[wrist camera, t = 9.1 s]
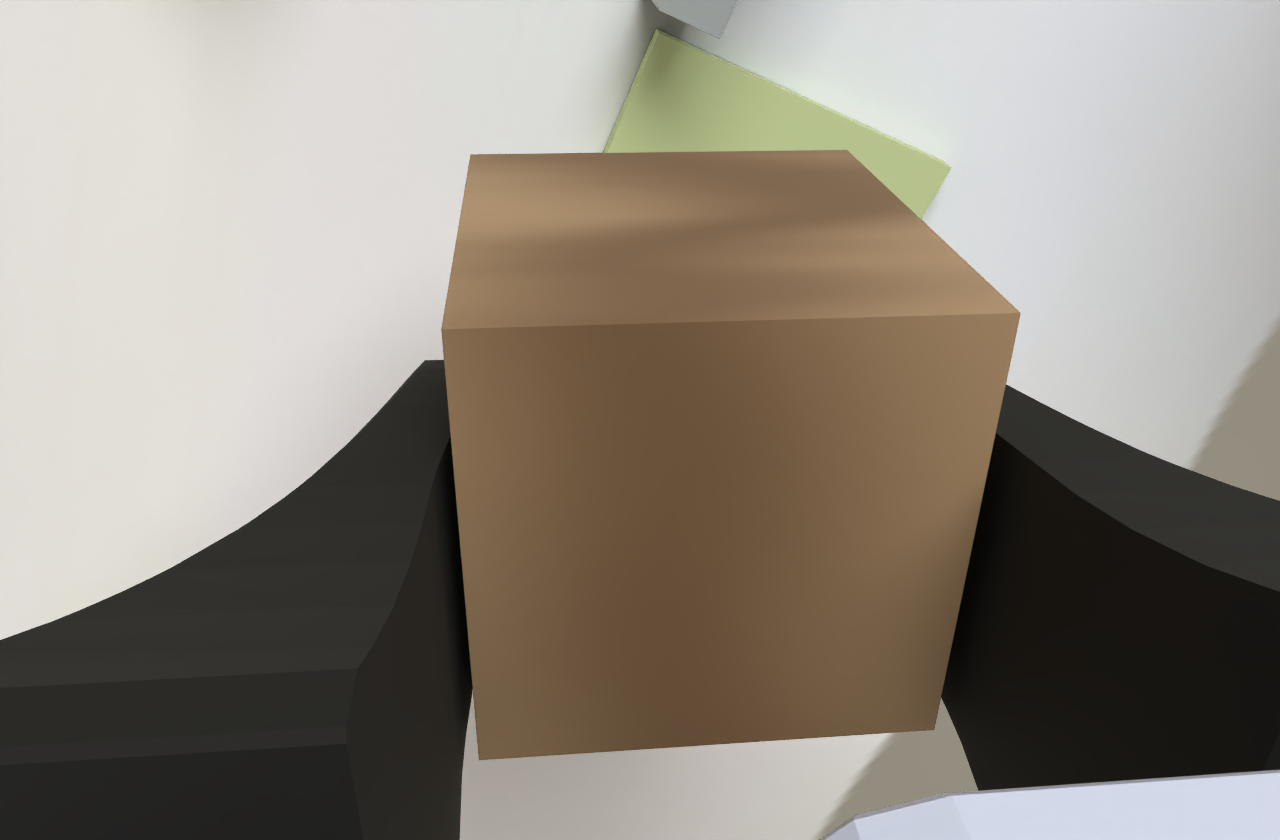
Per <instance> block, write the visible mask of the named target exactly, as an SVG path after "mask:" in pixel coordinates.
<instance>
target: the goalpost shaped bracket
mask: <svg viewBox="0 0 1280 840" xmlns="http://www.w3.org/2000/svg"><path fill="white" fill-rule="evenodd" d="M736 1H737V0H652V2H653V3H654V4H655V6H656V7H657V8H658V9H659V11H661V12H663V13H666V14H668V15H670V16H672V17H674V18H676V19H678V20H680V21H683V22H685V23H687V24H689V25H691V26H693V27H695V28H698V29H700V30H702V31H704V32H706V33H708V34H710V35H712V36H715V37H717V38H719V39H720V36H721V34H722V32H723V30H724V28H725V26H726V23H727V21H728V19H729V17H730V15H731V12H732V10H733V8H734V6H735V4H736Z"/></svg>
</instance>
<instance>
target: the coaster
mask: <svg viewBox="0 0 1280 840" xmlns="http://www.w3.org/2000/svg"><path fill="white" fill-rule="evenodd" d="M794 150H848V151H849V152H850V153H851V154H852V155H853V156H854V157H855V158H856V159H857V160H858V161H860V162H861V163H862V164H863V165H864V166H865V167H866V168H867V169H868V170H869V171H870V172H871V173H872V174H873V175H874V176H875V177H877V178H878V179H879V180H880V181H881V182H882V183H883V184H884V185H885V186H886V187H887V188H888V189H889V190H890V191H891V192H892V193H894V194H895V195H896V196H897V197H898V198H899V199H900V200H901V201H902V202H903V203H904V204H905V205H906V206H907V207H908V208H909V209H911V210H912V211H913V212H914V213H915V214H916V215H917V216H918V217H919V218H920V219H922V217H923V215H924V214H925V212H926V210H927V208H928V207H929V205H930V203H931V202H932V200H933V198H934V196H935V195H936V193H937V191H938V190H939V188H940V186H941V185H942V183H943V181H944V179H945V178H946V176H947V174H948V173H949V171H950V169H951V167H950V166H949V165H947V164H946V163H945V162H943V161H941V160H939V159H937V158H935V157H933V156H930V155H928V154H926V153H924V152H922V151H920V150H917V149H915V148H913V147H911V146H909V145H907V144H904V143H902V142H900V141H898V140H896V139H894V138H892V137H889V136H887V135H885V134H883V133H881V132H879V131H876V130H874V129H872V128H870V127H868V126H866V125H863V124H861V123H859V122H857V121H855V120H853V119H850V118H848V117H846V116H844V115H842V114H840V113H837V112H835V111H833V110H831V109H829V108H827V107H824V106H822V105H820V104H818V103H816V102H814V101H812V100H809V99H807V98H805V97H803V96H801V95H799V94H796V93H794V92H792V91H790V90H788V89H786V88H783V87H781V86H779V85H777V84H775V83H773V82H770V81H768V80H766V79H764V78H762V77H760V76H757V75H755V74H753V73H751V72H749V71H747V70H745V69H742V68H740V67H738V66H736V65H734V64H732V63H729V62H727V61H725V60H723V59H721V58H719V57H716V56H714V55H712V54H710V53H708V52H706V51H703V50H701V49H699V48H697V47H695V46H693V45H690V44H688V43H686V42H684V41H682V40H680V39H678V38H675V37H673V36H671V35H669V34H667V33H665V32H662V31H660V30H658V29H656V30H655V32H654V35H653V37H652V39H651V42H650V44H649V46H648V49H647V51H646V53H645V56H644V58H643V60H642V63H641V65H640V67H639V70H638V72H637V74H636V77H635V79H634V81H633V84H632V86H631V88H630V91H629V93H628V95H627V98H626V100H625V102H624V105H623V107H622V109H621V112H620V114H619V116H618V119H617V121H616V123H615V126H614V128H613V130H612V133H611V135H610V137H609V140H608V142H607V144H606V147H605V149H604V151H603V153H636V152H715V151H794Z"/></svg>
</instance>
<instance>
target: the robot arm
mask: <svg viewBox="0 0 1280 840" xmlns="http://www.w3.org/2000/svg"><path fill="white" fill-rule="evenodd" d="M472 690H473V685H472V674H471V662H470V651H469V640H468V628H467V617H466V605H465V594H464V582H463V571H462V559H461V548H460V536H459V525H458V514H457V502H456V491H455V479H454V468H453V456H452V445H451V433H450V422H449V410H448V399H447V387H446V376H445V365H444V360H425V361H424V362H423V363H422V364H421V365H420V366H419V367H418V368H417V369H416V370H415V371H414V372H413V373H412V375H411V376H410V377H409V378H408V379H407V380H406V381H405V382H404V384H403V385H402V386H401V387H400V388H399V389H398V391H397V392H396V393H395V394H394V395H393V396H392V397H391V398H390V400H389V401H388V402H387V403H386V404H385V405H384V406H383V407H382V408H381V410H380V411H379V412H378V413H377V414H376V415H375V416H374V417H373V418H372V419H371V420H370V421H369V422H368V423H367V424H366V425H365V426H364V427H363V428H362V429H361V431H360V432H359V433H358V434H357V435H356V436H355V437H354V438H353V439H352V440H351V441H350V442H349V443H348V444H347V445H346V446H345V447H344V448H342V449H341V450H340V451H339V452H338V453H337V454H336V455H335V456H334V457H332V458H331V459H330V460H329V461H328V462H327V463H326V464H325V465H324V466H322V467H321V468H320V469H319V470H318V471H317V472H316V473H315V474H314V475H313V476H311V477H310V478H309V479H308V480H306V481H305V482H304V483H303V484H301V485H300V486H299V487H298V488H296V489H295V490H294V491H292V492H291V493H290V494H288V495H287V496H286V497H285V498H283V499H282V500H280V501H279V502H278V503H276V504H275V505H273V506H272V507H270V508H269V509H268V510H266V511H265V512H263V513H262V514H260V515H259V516H258V517H256V518H255V519H253V520H252V521H250V522H249V523H247V524H246V525H244V526H243V527H241V528H239V529H238V530H236V531H235V532H233V533H231V534H229V535H228V536H226V537H224V538H222V539H221V540H219V541H217V542H215V543H214V544H212V545H210V546H208V547H207V548H205V549H203V550H201V551H200V552H198V553H196V554H195V555H193V556H191V557H189V558H188V559H186V560H184V561H182V562H181V563H179V564H177V565H175V566H174V567H172V568H170V569H168V570H166V571H164V572H162V573H160V574H158V575H156V576H154V577H152V578H150V579H148V580H146V581H144V582H142V583H140V584H137V585H135V586H133V587H131V588H129V589H127V590H125V591H123V592H121V593H118V594H116V595H114V596H111V597H109V598H107V599H105V600H102V601H100V602H98V603H96V604H93V605H91V606H89V607H86V608H84V609H82V610H80V611H77V612H75V613H72V614H70V615H67V616H65V617H62V618H60V619H57V620H55V621H52V622H50V623H47V624H44V625H41V626H38V627H36V628H33V629H30V630H27V631H25V632H22V633H19V634H16V635H13V636H11V637H8V638H5V639H2V640H0V840H459V838H460V812H461V785H462V768H463V758H464V748H465V738H466V731H467V724H468V717H469V710H470V704H471V697H472ZM941 698H942V700H943V702H944V704H945V706H946V708H947V711H948V713H949V715H950V717H951V720H952V722H953V724H954V727H955V729H956V731H957V733H958V736H959V738H960V740H961V743H962V745H963V748H964V751H965V754H966V756H967V759H968V762H969V765H970V768H971V771H972V773H973V776H974V779H975V782H976V785H977V787H978V790H979V791H968V792H955V793H941V794H938V795H933V796H929V797H926V798H921V799H917V800H913V801H909V802H905V803H901V804H897V805H893V806H889V807H885V808H881V809H877V810H873V811H869V812H865V813H861V814H857V815H855V816H853V817H852V818H850V819H849V820H847V821H846V822H845V823H843V824H841V825H840V826H839V827H837V828H836V829H834V830H833V831H831V832H830V833H828V834H827V835H825V836H824V837H822V838H821V839H819V840H1280V501H1278V500H1275V499H1272V498H1268V497H1265V496H1262V495H1259V494H1256V493H1253V492H1250V491H1247V490H1243V489H1240V488H1237V487H1234V486H1231V485H1229V484H1225V483H1223V482H1220V481H1217V480H1215V479H1212V478H1210V477H1207V476H1204V475H1202V474H1199V473H1196V472H1193V471H1191V470H1188V469H1185V468H1183V467H1180V466H1177V465H1175V464H1172V463H1169V462H1167V461H1164V460H1162V459H1160V458H1157V457H1155V456H1152V455H1150V454H1147V453H1145V452H1143V451H1140V450H1138V449H1136V448H1134V447H1132V446H1129V445H1127V444H1125V443H1123V442H1121V441H1118V440H1116V439H1114V438H1112V437H1110V436H1108V435H1105V434H1103V433H1101V432H1099V431H1097V430H1094V429H1092V428H1090V427H1088V426H1086V425H1084V424H1082V423H1080V422H1078V421H1076V420H1074V419H1072V418H1070V417H1068V416H1066V415H1064V414H1062V413H1060V412H1058V411H1056V410H1054V409H1052V408H1050V407H1048V406H1046V405H1044V404H1042V403H1040V402H1038V401H1036V400H1035V399H1033V398H1031V397H1029V396H1027V395H1025V394H1023V393H1021V392H1019V391H1017V390H1016V389H1014V388H1012V387H1010V386H1008V385H1006V386H1005V390H1004V395H1003V400H1002V405H1001V410H1000V414H999V419H998V424H997V429H996V434H995V439H994V443H993V448H992V453H991V458H990V463H989V468H988V472H987V477H986V482H985V487H984V492H983V497H982V501H981V506H980V511H979V516H978V521H977V526H976V530H975V535H974V540H973V545H972V550H971V555H970V559H969V564H968V569H967V574H966V579H965V583H964V588H963V593H962V598H961V603H960V608H959V612H958V617H957V622H956V627H955V632H954V637H953V641H952V646H951V651H950V656H949V661H948V666H947V670H946V675H945V680H944V685H943V690H942V695H941Z"/></svg>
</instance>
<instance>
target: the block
mask: <svg viewBox="0 0 1280 840" xmlns="http://www.w3.org/2000/svg"><path fill="white" fill-rule="evenodd" d="M1019 318H1020V312H1019V311H1018V310H1017V309H1016V308H1015V307H1014V306H1013V305H1012V304H1010V303H1009V302H1008V301H1007V300H1006V299H1005V298H1004V297H1003V296H1002V295H1001V294H1000V293H999V292H998V291H997V290H996V289H995V288H993V287H992V286H991V285H990V284H989V283H988V282H987V281H986V280H985V279H984V278H983V277H982V276H981V275H980V274H979V273H978V272H976V271H975V270H974V269H973V268H972V267H971V266H970V265H969V264H968V263H967V262H966V261H965V260H964V259H963V258H962V257H960V256H959V255H958V254H957V253H956V252H955V251H954V250H953V249H952V248H951V247H950V246H949V245H948V244H947V243H946V242H945V241H943V240H942V239H941V238H940V237H939V236H938V235H937V234H936V233H935V232H934V231H933V230H932V229H931V228H930V227H929V226H928V225H926V224H925V223H924V222H923V221H922V220H921V219H920V218H919V217H918V216H917V215H916V214H915V213H914V212H913V211H912V210H911V209H909V208H908V207H907V206H906V205H905V204H904V203H903V202H902V201H901V200H900V199H899V198H898V197H897V196H896V195H895V194H894V193H892V192H891V191H890V190H889V189H888V188H887V187H886V186H885V185H884V184H883V183H882V182H881V181H880V180H879V179H878V178H877V177H875V176H874V175H873V174H872V173H871V172H870V171H869V170H868V169H867V168H866V167H865V166H864V165H863V164H862V163H861V162H860V161H858V160H857V159H856V158H855V157H854V156H853V155H852V154H851V153H850V152H849V151H848V150H794V151H715V152H636V153H557V154H478V155H470V161H469V167H468V173H467V179H466V185H465V191H464V197H463V203H462V209H461V215H460V221H459V227H458V233H457V239H456V245H455V251H454V257H453V263H452V269H451V275H450V281H449V287H448V293H447V299H446V305H445V311H444V317H443V323H442V329H441V330H442V342H443V353H444V365H445V376H446V387H447V399H448V410H449V422H450V433H451V445H452V456H453V468H454V479H455V491H456V502H457V514H458V525H459V536H460V548H461V559H462V571H463V582H464V594H465V605H466V617H467V628H468V640H469V651H470V662H471V674H472V685H473V697H474V708H475V720H476V731H477V743H478V754H479V760H488V759H503V758H518V757H533V756H548V755H563V754H578V753H593V752H608V751H624V750H639V749H654V748H669V747H684V746H699V745H714V744H729V743H744V742H759V741H774V740H789V739H804V738H819V737H834V736H849V735H864V734H879V733H894V732H909V731H925V730H934V728H935V723H936V719H937V714H938V709H939V704H940V699H941V695H942V690H943V685H944V680H945V675H946V670H947V666H948V661H949V656H950V651H951V646H952V641H953V637H954V632H955V627H956V622H957V617H958V612H959V608H960V603H961V598H962V593H963V588H964V583H965V579H966V574H967V569H968V564H969V559H970V555H971V550H972V545H973V540H974V535H975V530H976V526H977V521H978V516H979V511H980V506H981V501H982V497H983V492H984V487H985V482H986V477H987V472H988V468H989V463H990V458H991V453H992V448H993V443H994V439H995V434H996V429H997V424H998V419H999V414H1000V410H1001V405H1002V400H1003V395H1004V390H1005V386H1006V381H1007V376H1008V371H1009V366H1010V361H1011V357H1012V352H1013V347H1014V342H1015V337H1016V332H1017V328H1018V323H1019Z"/></svg>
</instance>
